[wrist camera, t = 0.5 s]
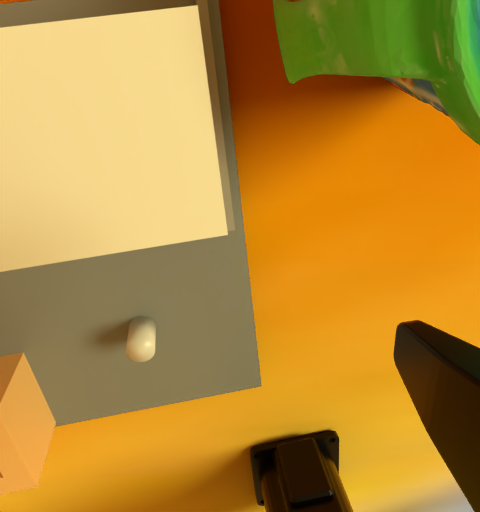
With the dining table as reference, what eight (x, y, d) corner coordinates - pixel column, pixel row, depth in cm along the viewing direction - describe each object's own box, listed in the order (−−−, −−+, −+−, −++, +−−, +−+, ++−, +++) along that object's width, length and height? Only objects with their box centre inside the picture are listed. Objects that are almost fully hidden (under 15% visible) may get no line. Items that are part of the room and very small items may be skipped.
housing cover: (213, 189, 19) (228, 234, 15) (-1, 221, 18) (-56, 280, 14) (189, 14, 16) (197, 5, 11) (-75, 45, 15) (-178, 47, 11)
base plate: (257, 372, 27) (268, 411, 24) (-34, 428, 25) (-60, 477, 22) (213, -17, 17) (222, -27, 14) (-278, 38, 15) (-380, 38, 12)
